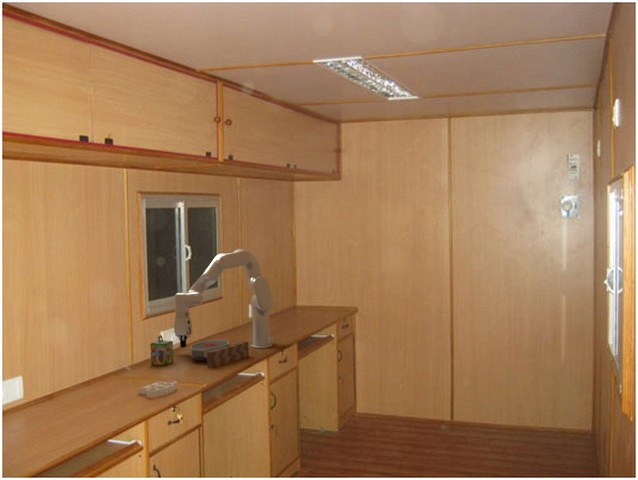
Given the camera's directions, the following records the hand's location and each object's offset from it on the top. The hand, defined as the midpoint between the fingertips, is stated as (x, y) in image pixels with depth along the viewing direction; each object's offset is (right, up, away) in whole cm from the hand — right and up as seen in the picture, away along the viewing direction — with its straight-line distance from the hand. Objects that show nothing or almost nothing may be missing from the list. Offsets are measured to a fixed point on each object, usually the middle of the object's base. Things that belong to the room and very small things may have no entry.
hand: (183, 346), depth 388 cm
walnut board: (+28, -5, -21) cm, 35 cm away
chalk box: (-7, -6, -21) cm, 23 cm away
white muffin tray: (+5, -9, -78) cm, 78 cm away
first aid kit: (+17, -5, -11) cm, 20 cm away
